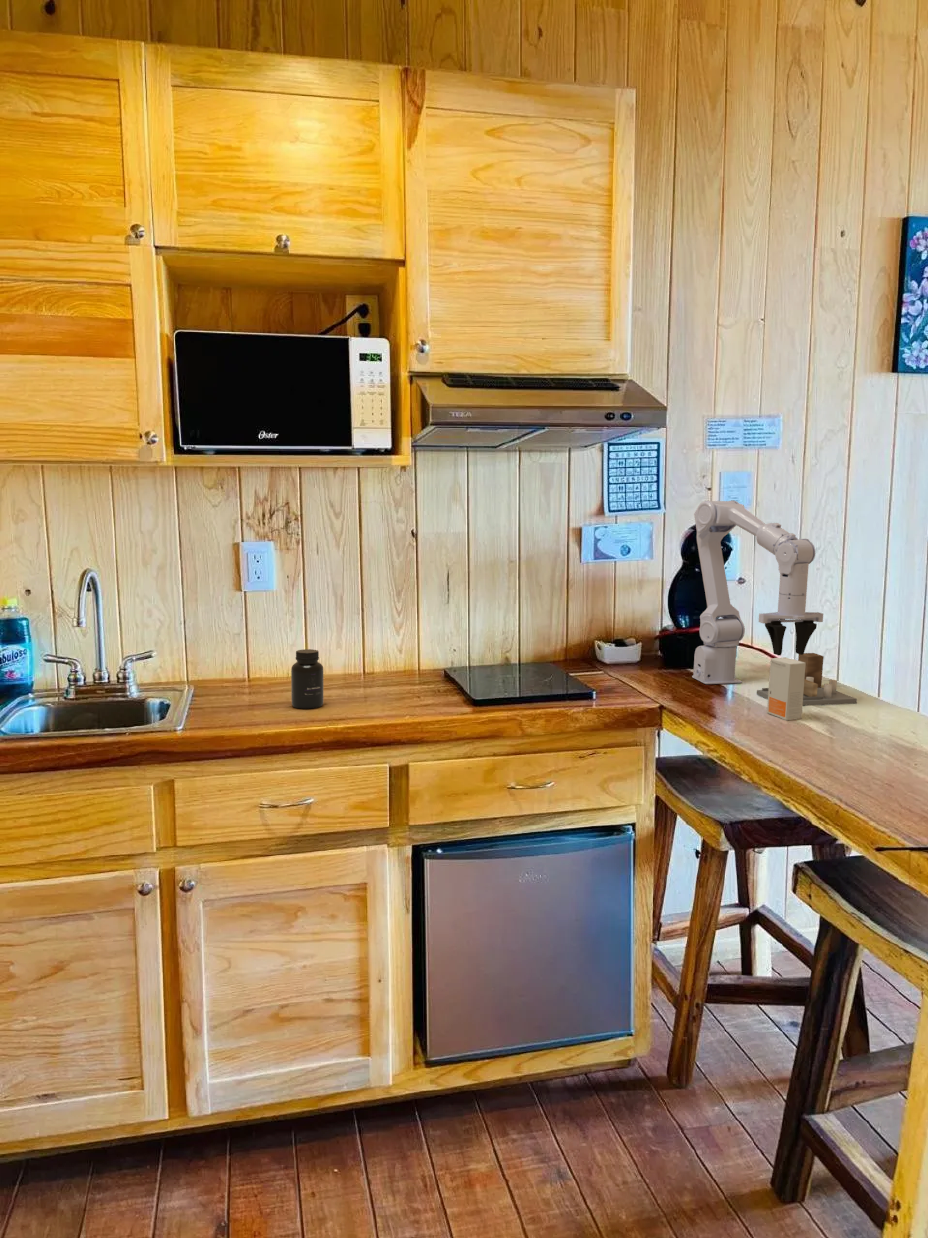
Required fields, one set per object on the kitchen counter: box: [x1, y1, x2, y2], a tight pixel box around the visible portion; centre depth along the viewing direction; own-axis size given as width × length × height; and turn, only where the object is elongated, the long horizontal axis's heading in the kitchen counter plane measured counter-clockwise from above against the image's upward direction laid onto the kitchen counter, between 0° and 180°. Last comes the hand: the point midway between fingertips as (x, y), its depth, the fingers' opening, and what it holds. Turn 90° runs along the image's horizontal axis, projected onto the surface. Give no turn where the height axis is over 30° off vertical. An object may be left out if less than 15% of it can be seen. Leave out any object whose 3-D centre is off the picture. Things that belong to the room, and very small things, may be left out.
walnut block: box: [797, 652, 824, 688], centre depth 206 cm, size 4×4×8 cm
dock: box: [756, 677, 858, 706], centre depth 196 cm, size 18×11×4 cm, turn 100°
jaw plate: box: [803, 679, 818, 697], centre depth 195 cm, size 1×8×3 cm, turn 11°
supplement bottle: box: [290, 648, 324, 710], centre depth 186 cm, size 7×7×12 cm
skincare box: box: [766, 656, 806, 721], centre depth 180 cm, size 6×4×12 cm
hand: (788, 654), depth 193 cm, fingers open, 5 cm apart
